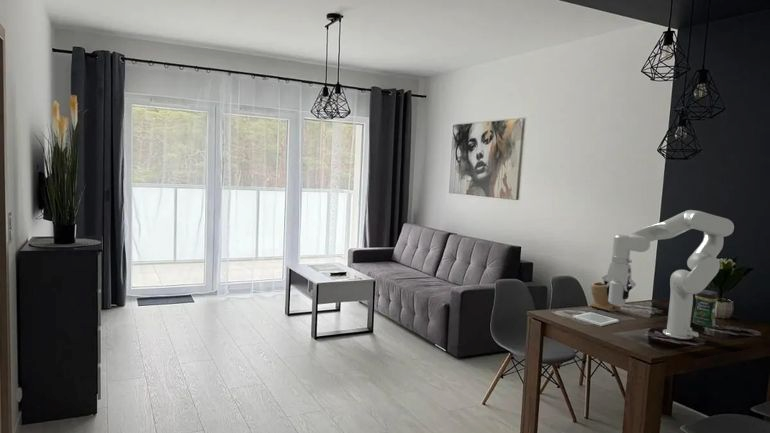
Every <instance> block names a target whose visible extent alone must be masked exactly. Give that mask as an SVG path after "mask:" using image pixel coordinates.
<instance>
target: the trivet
mask: <svg viewBox="0 0 770 433" xmlns="http://www.w3.org/2000/svg"><path fill="white" fill-rule="evenodd" d="M572 318H573V319H575V318H576V320H579V321H583V322H585V323H590V324H594V325H597V326H600V327H604V326H607V325H611V324H615V323H619V322H620V321H619V319H617V318H613V317H609V316H606V315H601V314H598V313H595V312H591V311H589V312H585V313H581V314H575V315H572Z"/></svg>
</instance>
